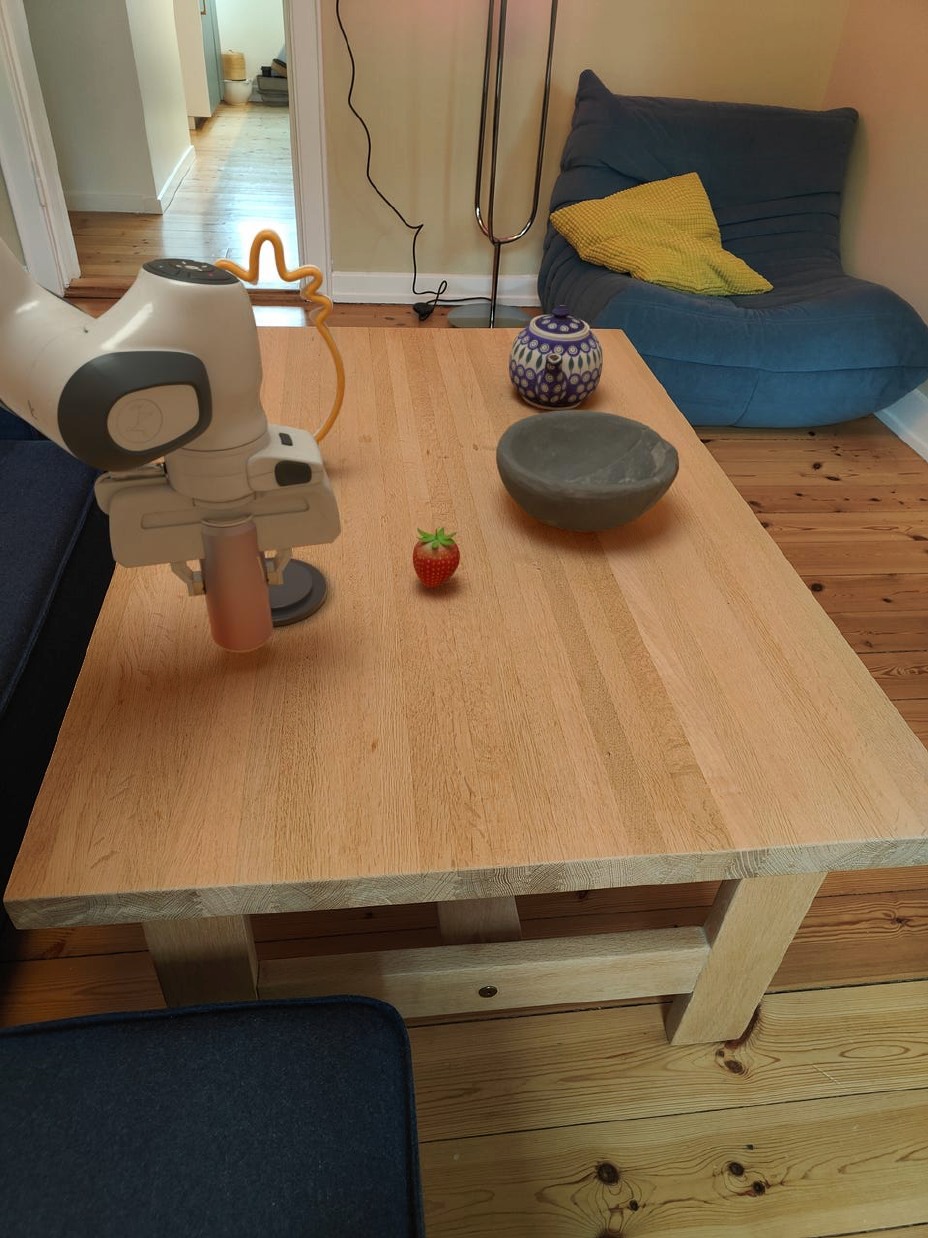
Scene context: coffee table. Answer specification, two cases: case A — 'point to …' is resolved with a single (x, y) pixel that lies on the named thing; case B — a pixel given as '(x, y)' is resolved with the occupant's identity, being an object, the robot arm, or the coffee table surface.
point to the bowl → (585, 468)
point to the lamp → (306, 293)
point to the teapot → (555, 361)
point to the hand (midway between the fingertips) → (236, 586)
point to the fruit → (435, 558)
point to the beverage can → (235, 584)
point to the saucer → (296, 593)
